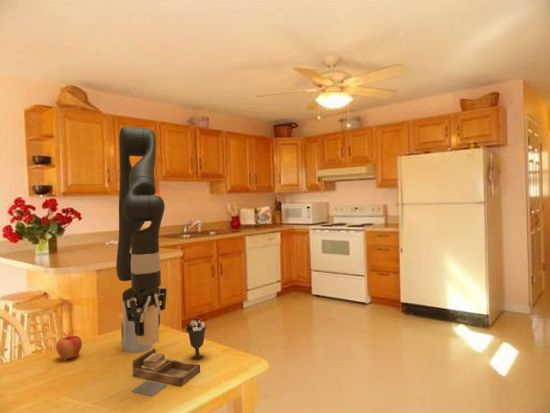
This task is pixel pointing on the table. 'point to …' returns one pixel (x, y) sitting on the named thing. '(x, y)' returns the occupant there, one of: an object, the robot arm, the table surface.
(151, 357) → the offcut upper
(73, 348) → the apple
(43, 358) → the table surface
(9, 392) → the table surface
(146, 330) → the candle
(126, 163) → the robot arm
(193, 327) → the sundae
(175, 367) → the tray
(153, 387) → the coaster
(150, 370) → the offcut lower
